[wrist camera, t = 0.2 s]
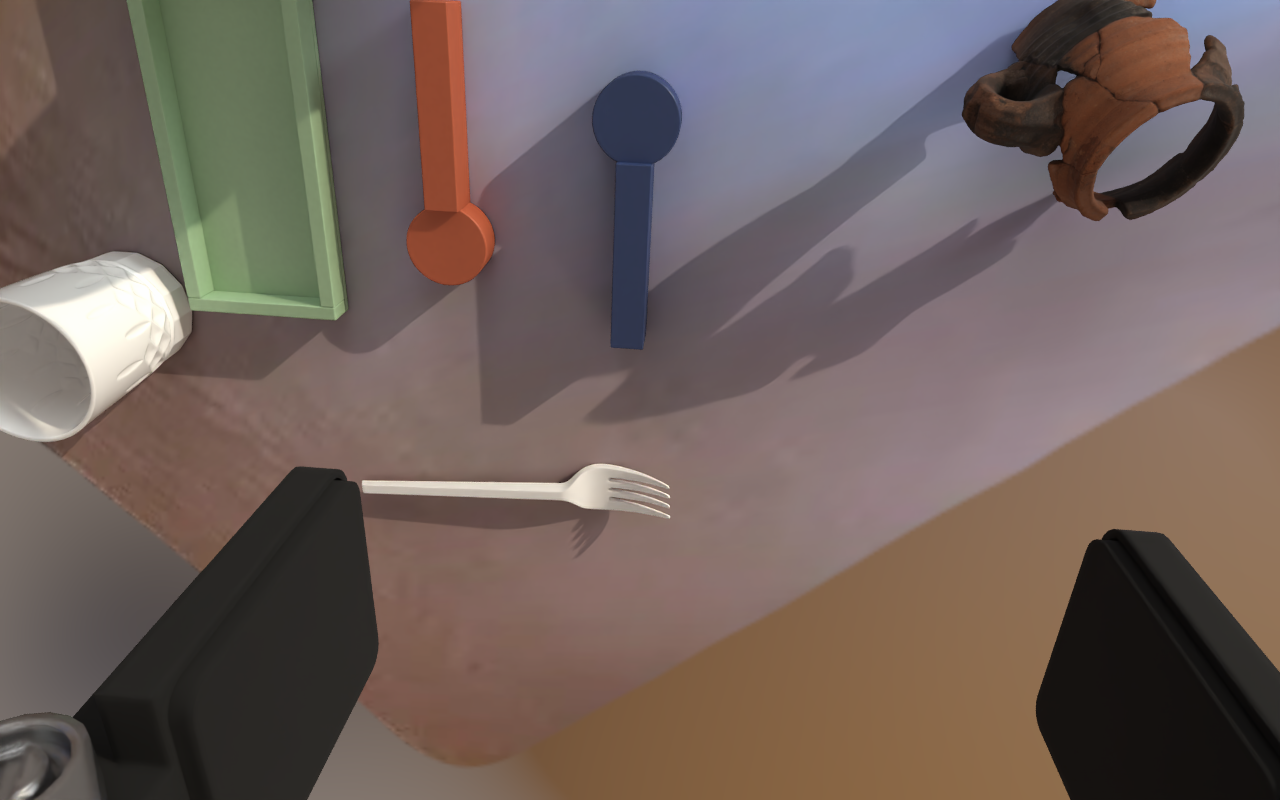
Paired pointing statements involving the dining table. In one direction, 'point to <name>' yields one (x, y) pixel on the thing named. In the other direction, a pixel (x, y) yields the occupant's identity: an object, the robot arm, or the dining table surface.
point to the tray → (244, 153)
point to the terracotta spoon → (444, 152)
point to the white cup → (84, 340)
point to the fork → (547, 489)
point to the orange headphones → (1106, 100)
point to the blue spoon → (634, 186)
